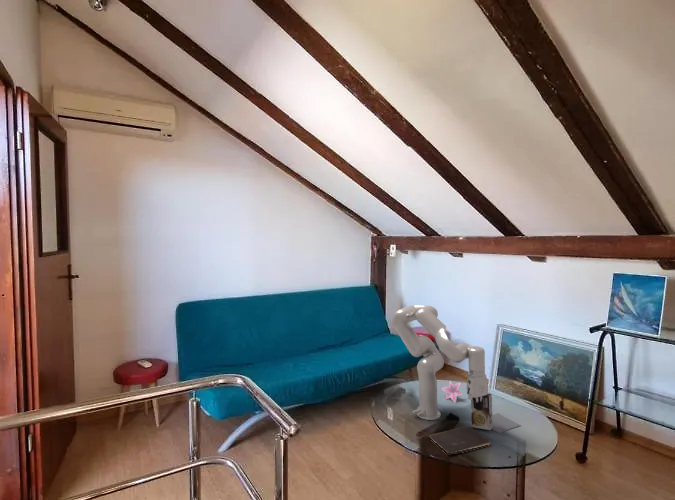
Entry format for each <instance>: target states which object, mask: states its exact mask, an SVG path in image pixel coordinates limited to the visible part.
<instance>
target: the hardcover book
mask: <svg viewBox="0 0 675 500" xmlns="http://www.w3.org/2000/svg"><path fill="white" fill-rule="evenodd" d="M427 437H430V438H431V439H432V440H433V441H434V442H435V443H437V444H438V445H439V446H440V447H441V448H443V449H444V450H445V451H446V452H447V453H453V452H457V451H462V450H466V449H472V448H477V447H481V446H485V445H488V446H490V445H491V441H490V440H489V439H487V438H486V437H485V436H483V435H482V434H481V433H480V432H478V431H476V430H475V429H474V428H473V427H472V426H470V425H466V426H462V427H457V428H454V429H450V430H445V431H442V432H437V433H433V434H429V435H428V436H427ZM432 440H431V441H432ZM433 441H432V442H433ZM434 442H433V443H434ZM435 443H434V444H435ZM485 447H486V446H485ZM481 448H482V447H481ZM477 449H478V448H477Z"/></svg>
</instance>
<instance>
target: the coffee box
mask: <svg viewBox="0 0 675 500" xmlns="http://www.w3.org/2000/svg"><path fill="white" fill-rule="evenodd" d="M492 397H493V396H492V393H488V394H487V395H485V396H483V398H482V401H481V410H477V409H475V408H474V401H473V400H471V399H470V410H471V411H470V412H471V414H470V415H471V419H470V420H471V428H476V429H480V430H481V429H482V430H487V431H492V428H493V425H492V415H493V403H492V402H493V401H492Z"/></svg>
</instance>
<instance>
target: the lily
mask: <svg viewBox="0 0 675 500" xmlns="http://www.w3.org/2000/svg"><path fill="white" fill-rule="evenodd" d="M448 383H449V384H448V386H447V385H446V386H442V387H441V390H442V391H443V392H444V393H446V395H445V400H447V399H451V401H452V402H453V404H456V403H457V397H458V396H463V395H464V394H463V392H462V391H460V390H459V389H460V385H461V382H456V383H454V384H453V382H452V381H451V380H449V381H448Z"/></svg>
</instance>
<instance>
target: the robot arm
mask: <svg viewBox="0 0 675 500" xmlns="http://www.w3.org/2000/svg"><path fill="white" fill-rule="evenodd" d="M438 317H439V313H438V310H437V308H436V307H434V306H432V305H420V304H419V305H412V304H411V305H408V306H405V307H402V308H400V309H398V310H396V311H395V312H394V313H393V316H392V322H391V323H392V326H393V328H394V331H395V332H396V334H398V335H399V337H400V338H401V341H402V342H403V344H404V345H405V347H406V349H407V350H408V352H409V353H410V354H411V356H412V357H414V358H419V357H421V356H423V357H422V358H420V359H419V361H417V365H416V370H417V375H418V376H417V377H418V396H419V397H418V398H419V400H418V401H419V402H418V404H419V406H417V408H416V409H414V410H411V414H412V415H417V417H419V418H420V419H422V420H426V421H437V420H438V419H440V418H441V412H440V410H438V380H437V377H436V373H437V372H438V371H440V370H441V369H442V368H443V367H444V364H445V362H444V358H443V356H442V354H444V356H446V357H447V358H448V360H450V361H451V362H453V363H456V364H459V363H462V362H463V361H464V360H467V359H468V372H467V379H466V394H467V395H468V396H467V399H469V400H470V401H471V400H473V401H474V408H475V409H477V410H481V401H482V398H483V396H485V395H487V394H489V385H488V384H489V383H488V377H487V374H486V359H485V358H486V356H485V355H486V351H485V349H484V348H483V347H481V346H478V345H477V346H476V345H471V344H469V343H465V342H461V343H459V344H456V345H455V344H454V343H453V342H452V341H451V340H450V339H449V338H448V335H447V326H446V325H445V323H444V322H442V321H441V319H439V318H438ZM413 321H417V322H418V323H419V324H420V325H421V326H422V327H423V328H424V329H425V330H426V331H427V332H428V333H429V334H431V336H432V337H433V338H434V340H435V343H436V345H437V346H438V348H437V347H436V345H435V343H434V342H433V341H432V340H431V338H430V337H429V336H426V335H418V334H417V333H416V331H415V330H414V328H413V327H411V326H410V325H409V323H411V322H413ZM438 349H439V350H440V351H441V353H442V354H441V353H440V351H439V350H438Z"/></svg>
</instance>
